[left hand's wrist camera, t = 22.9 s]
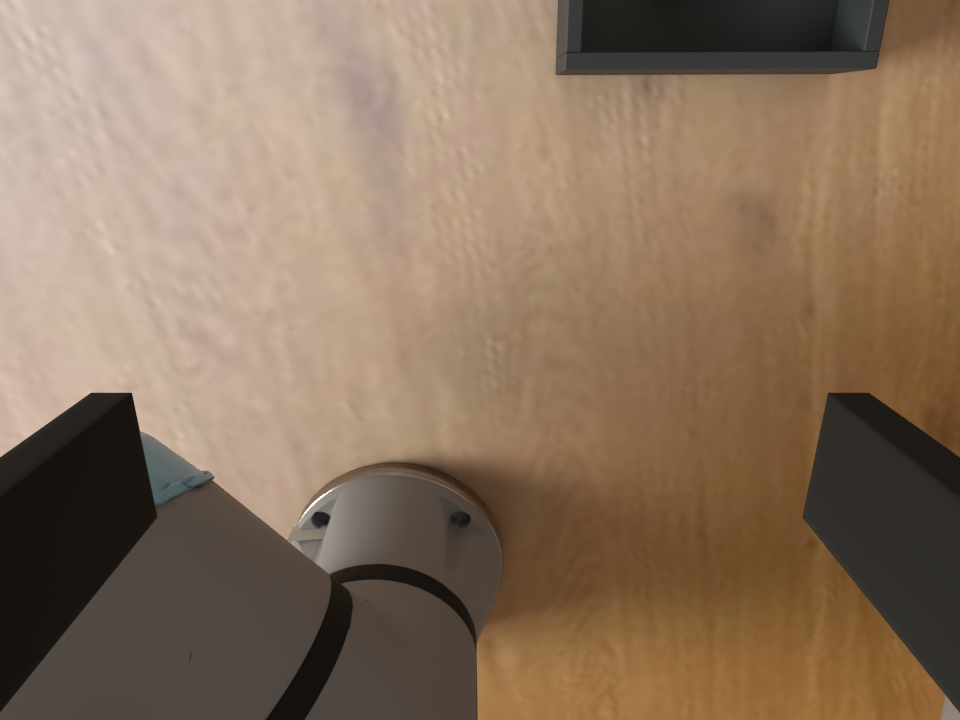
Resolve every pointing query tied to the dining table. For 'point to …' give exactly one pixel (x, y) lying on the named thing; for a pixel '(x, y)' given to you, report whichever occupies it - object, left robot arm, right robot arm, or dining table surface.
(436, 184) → the dining table surface
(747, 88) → the dining table surface
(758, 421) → the dining table surface
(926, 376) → the dining table surface
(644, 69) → the tray
